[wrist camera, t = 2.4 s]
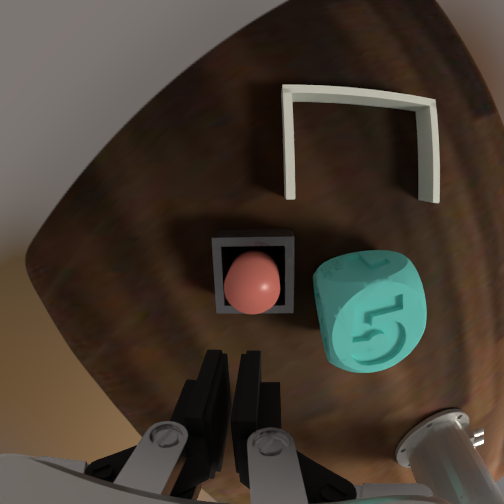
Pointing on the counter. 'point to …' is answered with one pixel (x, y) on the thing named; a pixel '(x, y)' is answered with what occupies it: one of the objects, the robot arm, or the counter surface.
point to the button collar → (253, 238)
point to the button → (252, 282)
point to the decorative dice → (369, 309)
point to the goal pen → (359, 96)
